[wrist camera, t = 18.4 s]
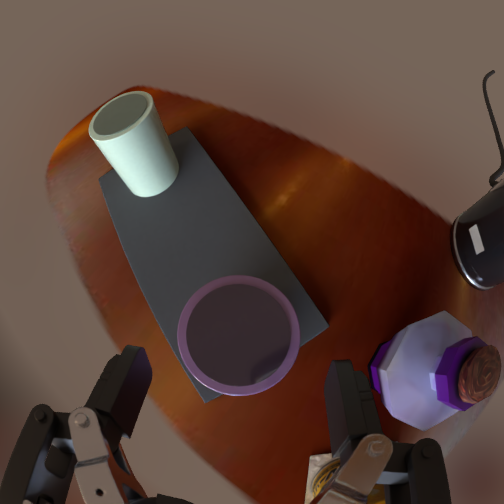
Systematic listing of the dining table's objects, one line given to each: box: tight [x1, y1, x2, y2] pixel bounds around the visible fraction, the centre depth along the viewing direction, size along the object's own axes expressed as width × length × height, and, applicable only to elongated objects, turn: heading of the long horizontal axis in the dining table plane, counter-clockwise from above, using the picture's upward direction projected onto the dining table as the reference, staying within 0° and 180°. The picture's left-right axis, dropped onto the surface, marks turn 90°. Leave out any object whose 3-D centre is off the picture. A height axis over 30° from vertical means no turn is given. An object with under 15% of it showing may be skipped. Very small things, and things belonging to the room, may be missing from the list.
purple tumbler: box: [177, 275, 301, 396], centre depth 17 cm, size 6×6×9 cm
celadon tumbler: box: [89, 91, 179, 197], centre depth 22 cm, size 6×6×9 cm
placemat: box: [99, 127, 329, 403], centre depth 24 cm, size 12×26×1 cm, turn 32°
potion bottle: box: [368, 310, 501, 431], centre depth 14 cm, size 9×9×12 cm
